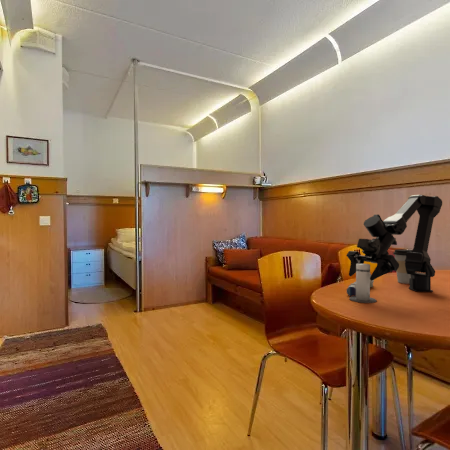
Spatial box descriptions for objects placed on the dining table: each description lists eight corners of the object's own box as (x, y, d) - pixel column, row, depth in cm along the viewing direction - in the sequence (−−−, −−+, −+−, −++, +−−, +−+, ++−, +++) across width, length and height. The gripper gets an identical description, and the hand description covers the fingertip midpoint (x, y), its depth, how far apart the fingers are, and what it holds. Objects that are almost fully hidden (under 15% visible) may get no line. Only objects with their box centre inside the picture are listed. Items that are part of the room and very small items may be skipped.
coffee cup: (421, 284, 138) (421, 250, 138) (400, 284, 138) (399, 251, 138) (408, 280, 147) (408, 249, 147) (389, 280, 148) (388, 249, 147)
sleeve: (369, 298, 113) (369, 264, 113) (370, 301, 108) (370, 265, 108) (355, 296, 114) (356, 263, 114) (356, 299, 110) (356, 264, 110)
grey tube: (344, 285, 119) (362, 268, 138) (345, 302, 120) (362, 283, 139) (358, 287, 116) (374, 269, 135) (359, 304, 116) (375, 284, 136)
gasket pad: (370, 297, 115) (370, 296, 115) (380, 303, 106) (380, 302, 106) (346, 296, 116) (345, 295, 116) (354, 302, 107) (354, 302, 107)
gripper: (349, 230, 121) (328, 260, 117) (393, 231, 104) (370, 266, 100) (363, 249, 125) (344, 279, 120) (408, 253, 108) (387, 287, 103)
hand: (359, 277), depth 111 cm, fingers open, 9 cm apart
